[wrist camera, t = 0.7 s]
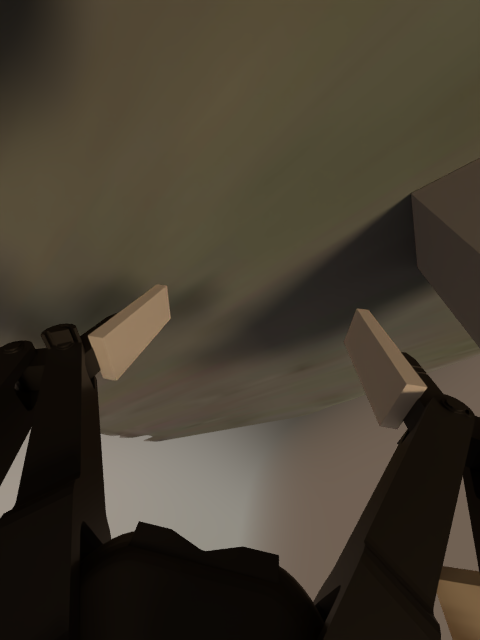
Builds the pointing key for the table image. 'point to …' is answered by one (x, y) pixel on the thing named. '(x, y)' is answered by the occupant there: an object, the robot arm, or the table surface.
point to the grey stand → (451, 241)
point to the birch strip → (460, 602)
